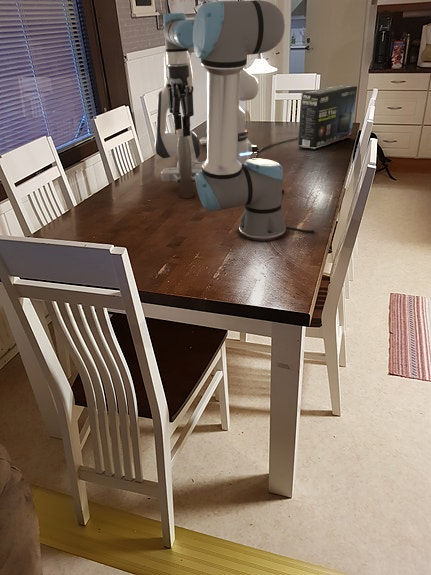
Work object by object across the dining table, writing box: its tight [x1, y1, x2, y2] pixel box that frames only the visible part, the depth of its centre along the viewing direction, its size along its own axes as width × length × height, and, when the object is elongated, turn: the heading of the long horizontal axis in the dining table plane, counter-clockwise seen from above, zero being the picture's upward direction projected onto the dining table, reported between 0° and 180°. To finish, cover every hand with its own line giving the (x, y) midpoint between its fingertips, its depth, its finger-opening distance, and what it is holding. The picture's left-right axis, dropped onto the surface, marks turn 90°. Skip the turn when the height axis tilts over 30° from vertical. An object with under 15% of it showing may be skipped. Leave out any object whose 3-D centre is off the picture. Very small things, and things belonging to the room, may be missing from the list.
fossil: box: [199, 136, 207, 146], centre depth 250 cm, size 18×11×15 cm
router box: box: [297, 84, 358, 151], centre depth 238 cm, size 36×11×27 cm, turn 134°
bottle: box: [177, 136, 194, 199], centre depth 175 cm, size 5×5×25 cm
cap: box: [176, 128, 183, 136], centre depth 169 cm, size 4×4×2 cm
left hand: (186, 180), depth 178 cm, fingers closed on bottle, 5 cm apart
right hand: (182, 134), depth 170 cm, fingers closed on cap, 4 cm apart
